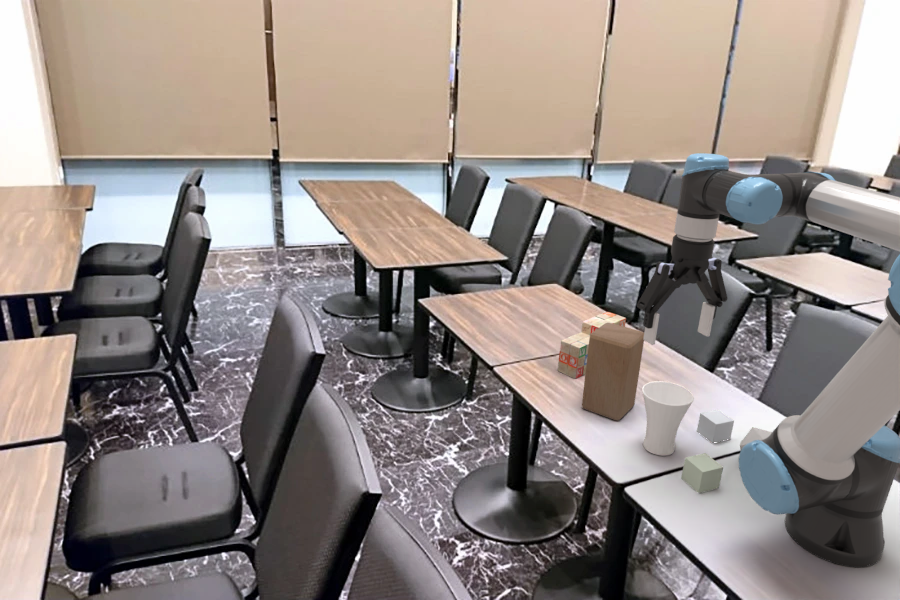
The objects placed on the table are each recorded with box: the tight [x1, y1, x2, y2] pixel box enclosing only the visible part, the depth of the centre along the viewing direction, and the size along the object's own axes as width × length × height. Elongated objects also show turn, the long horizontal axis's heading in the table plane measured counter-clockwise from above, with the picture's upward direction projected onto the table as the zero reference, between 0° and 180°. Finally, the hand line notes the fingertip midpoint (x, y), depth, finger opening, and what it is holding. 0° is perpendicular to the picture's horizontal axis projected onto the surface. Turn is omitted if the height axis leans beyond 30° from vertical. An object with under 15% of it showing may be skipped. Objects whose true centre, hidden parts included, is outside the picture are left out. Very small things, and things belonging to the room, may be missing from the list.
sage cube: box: [681, 452, 724, 494], centre depth 125 cm, size 5×5×5 cm
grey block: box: [739, 427, 773, 451], centre depth 131 cm, size 8×9×10 cm
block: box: [581, 323, 645, 421], centre depth 149 cm, size 10×10×20 cm
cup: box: [641, 380, 695, 456], centre depth 135 cm, size 10×10×14 cm
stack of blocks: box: [557, 311, 627, 380], centre depth 173 cm, size 21×6×12 cm, turn 133°
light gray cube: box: [696, 409, 735, 444], centre depth 142 cm, size 5×5×5 cm
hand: (676, 338), depth 128 cm, fingers open, 13 cm apart
